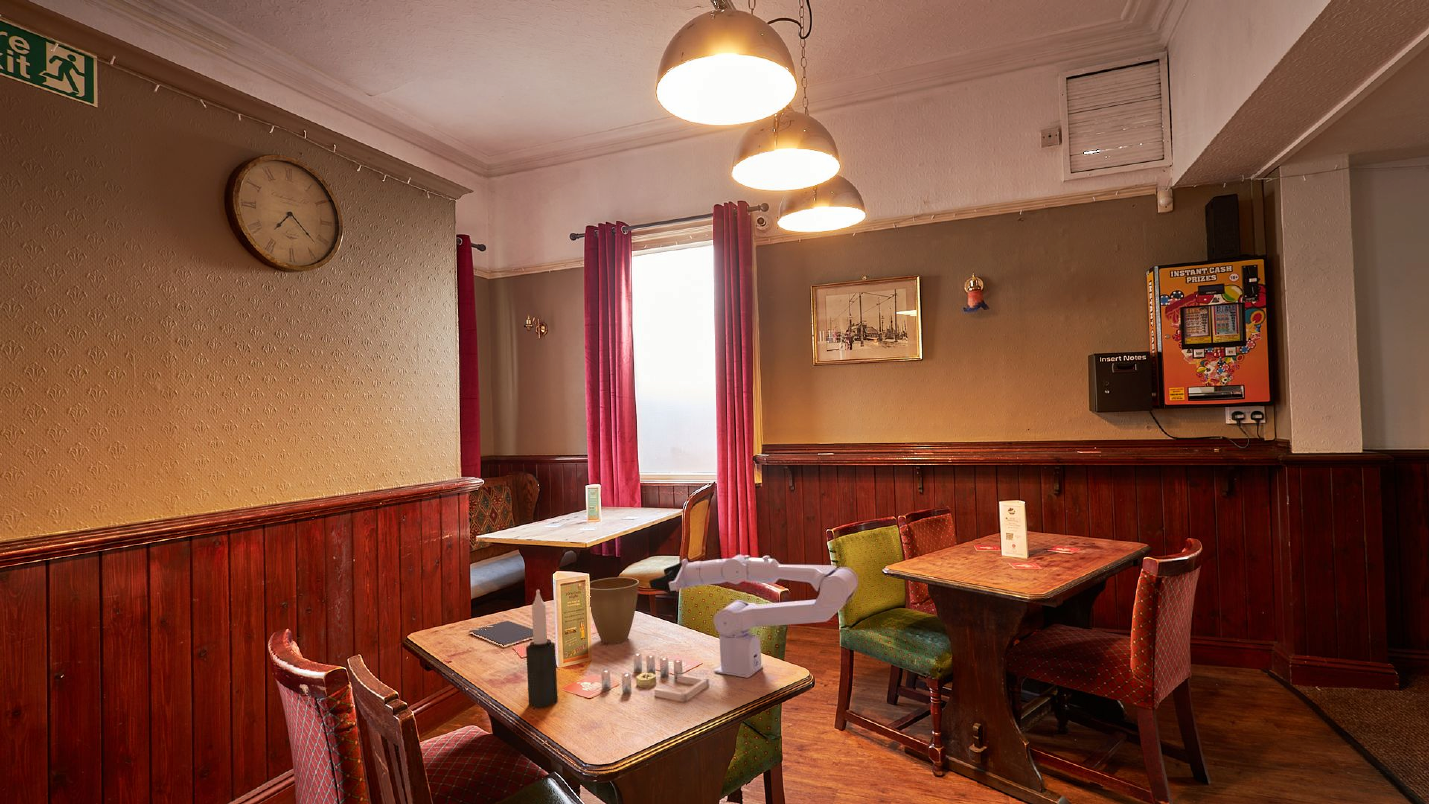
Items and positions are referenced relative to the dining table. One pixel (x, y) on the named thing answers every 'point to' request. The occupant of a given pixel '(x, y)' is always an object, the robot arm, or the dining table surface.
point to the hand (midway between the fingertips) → (658, 578)
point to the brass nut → (646, 680)
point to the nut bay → (683, 697)
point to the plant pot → (613, 607)
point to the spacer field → (638, 668)
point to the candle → (541, 660)
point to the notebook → (505, 632)
